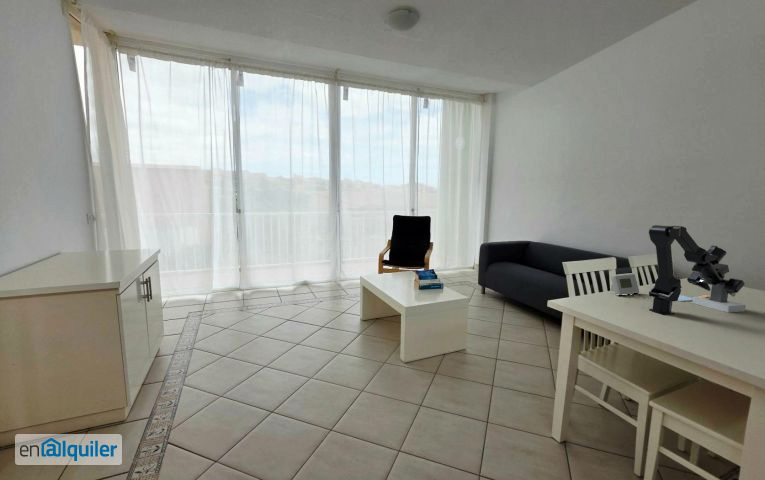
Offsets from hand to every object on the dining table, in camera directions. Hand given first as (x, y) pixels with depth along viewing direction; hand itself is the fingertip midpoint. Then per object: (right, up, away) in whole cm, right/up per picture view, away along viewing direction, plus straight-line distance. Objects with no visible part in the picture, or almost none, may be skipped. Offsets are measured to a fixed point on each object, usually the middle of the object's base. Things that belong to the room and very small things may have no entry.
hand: (721, 293), depth 151 cm
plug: (-1, -7, +1) cm, 7 cm away
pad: (-8, -5, +14) cm, 17 cm away
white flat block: (-1, -7, +1) cm, 7 cm away
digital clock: (-30, -4, +21) cm, 37 cm away
